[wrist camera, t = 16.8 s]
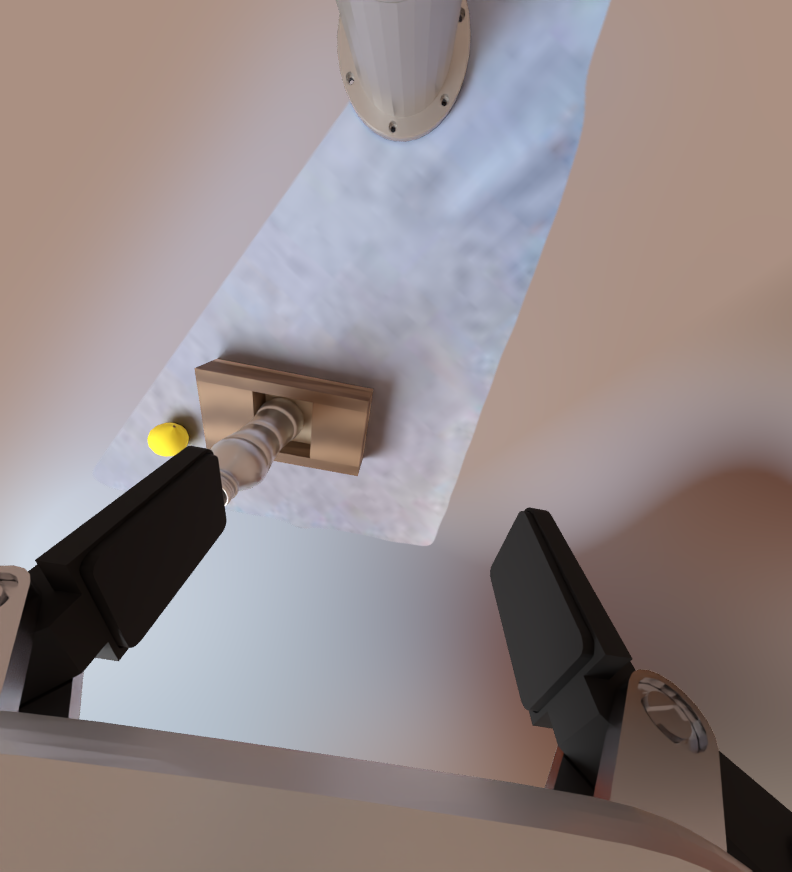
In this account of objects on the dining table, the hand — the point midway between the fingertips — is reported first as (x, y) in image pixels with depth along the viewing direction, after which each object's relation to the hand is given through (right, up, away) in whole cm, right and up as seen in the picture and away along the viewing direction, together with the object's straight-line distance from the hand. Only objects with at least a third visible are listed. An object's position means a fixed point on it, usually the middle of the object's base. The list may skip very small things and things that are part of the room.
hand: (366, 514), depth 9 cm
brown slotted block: (-15, +6, +39) cm, 42 cm away
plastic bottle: (-16, +6, +38) cm, 42 cm away
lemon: (-37, +3, +42) cm, 56 cm away
